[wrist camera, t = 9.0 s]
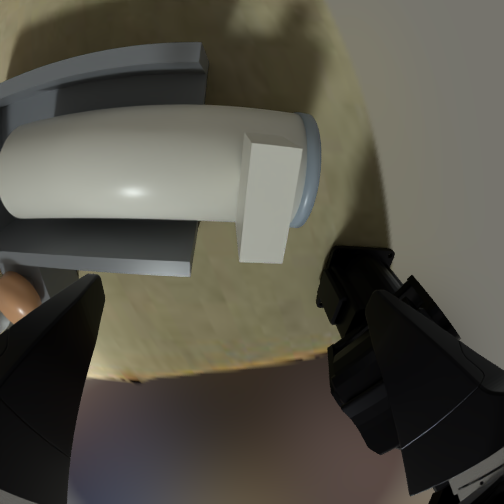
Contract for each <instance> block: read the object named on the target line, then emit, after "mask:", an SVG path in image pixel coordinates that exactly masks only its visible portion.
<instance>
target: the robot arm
mask: <svg viewBox="0 0 504 504" xmlns="http://www.w3.org/2000/svg"><path fill="white" fill-rule="evenodd" d="M337 251H339V252H338V253H336V252H337ZM389 254H390V255H389ZM394 255H395V253H394V251H393V250H392V249H387V248H371V247H354V246H335V247H333V248H332V250H331V253H330V257H329V260H328V264H327V267H326V269H325V270H324V272H323V275H322V278H321V281H320V285H319V288H318V291H317V293H318V296H317V299H316V304H317V306H318V307H319V308H324V309H325V312H326V314H327V317H328V319H329V321H330V323H331V324H332V325H336V326H337V329H338V331H339V333H340V336H341V338H342V339H340V340H339V341H338V342H337V343H335V344H332V345H331V346H330V347H328V348H327V350H328V362H329V379H330V388H331V394H332V396H333V397H334V399H335V400H336V402H337V403H338V405H339V406H340V407H341V409H342V410H343V412H345V414H347V416H348V417H350V419H351V420H352V421H353V422H354V424H355V425H356V427H357V428H358V430H359V431H360V433H361V435H362V437H363V439H364V440H365V442H366V444H367V446H368V448H370V449H371V450H373V451H374V452H376V453H377V454H380V455H382V454H384V453H386V452H388V451H390V450H392V449H394V448H396V449H399V450H401V452H402V457H403V462H404V467H405V472H406V478H407V484H408V490H409V495H410V496H413V495H415V494H418V493H420V492H423V491H425V490H428V489H430V488H432V487H433V489H434V491H435V493H433V494H432V497H431V499H430V501H429V504H504V370H502V369H501V368H499V367H498V366H496V365H495V364H493V363H491V362H490V361H488V360H487V359H485V358H484V357H482V356H481V355H479V354H478V353H476V352H475V351H473V350H472V349H470V348H469V347H468V346H466V345H465V344H464V343H462V342H461V341H459V340H460V339H461V338H460V336H459V335H458V333H457V332H456V330H455V329H454V327H453V326H452V325H451V323H450V322H449V320H448V319H447V318H446V316H445V315H444V314H443V312H442V311H441V310H440V308H439V307H438V306H437V304H436V303H435V302H434V301H433V299H432V298H431V297H430V296H429V294H428V293H427V292H426V291H425V289H424V288H423V287H422V286H421V285H420V283H419V282H418V281H417V280H416V279H415V278H414V276H413V275H411V276H410V277H409V278H408V279H407V281H406V282H405V283H404V284H402V282H401V281H400V280H399V279H398V277H397V276H396V275H395V274H394V272H393V271H392V270H391V269H390V265H391V263H392V260H393V258H394ZM321 302H322V303H321ZM104 303H105V294H104V290H103V286H102V281H101V278H100V276H99V275H97V274H86V275H85V276H83V277H82V278H80V279H78V280H77V281H75V282H74V283H72V284H71V285H69V286H68V287H66V288H65V289H63V290H62V291H60V292H59V293H57V294H56V295H54V296H53V297H51V298H50V299H48V300H47V301H45V302H44V303H43V304H41V305H40V306H38V307H37V308H35V309H34V310H33V311H31V312H30V313H28V314H27V315H26V316H24V317H23V318H22V319H20V320H19V321H18V322H16V323H15V324H14V325H12V326H11V327H10V328H9V329H7V330H6V331H4V332H3V333H2V334H0V504H67V491H68V478H69V467H70V457H71V450H72V443H73V436H74V431H75V425H76V420H77V415H78V410H79V405H80V401H81V396H82V392H83V388H84V384H85V380H86V376H87V372H88V369H89V365H90V362H91V358H92V355H93V351H94V348H95V344H96V340H97V335H98V330H99V325H100V321H101V316H102V312H103V308H104Z"/></svg>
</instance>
